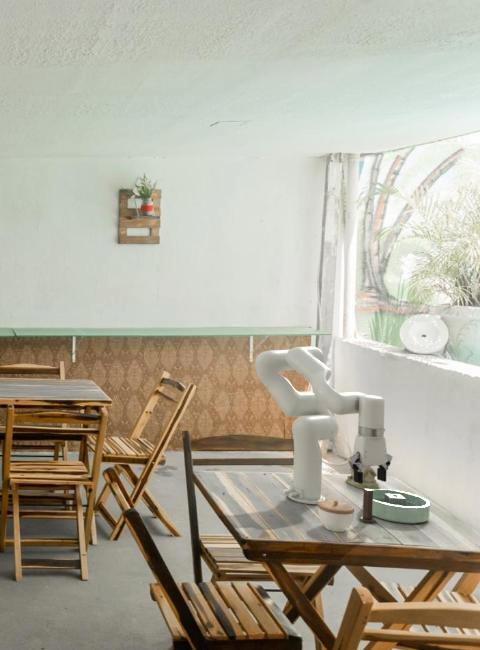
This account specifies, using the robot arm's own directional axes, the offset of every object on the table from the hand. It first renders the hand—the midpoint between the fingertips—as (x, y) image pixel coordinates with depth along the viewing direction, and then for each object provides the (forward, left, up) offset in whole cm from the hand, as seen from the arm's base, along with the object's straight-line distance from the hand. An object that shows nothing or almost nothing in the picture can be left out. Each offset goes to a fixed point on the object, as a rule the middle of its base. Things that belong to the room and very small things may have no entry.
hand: (369, 481), depth 229 cm
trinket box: (-16, -3, -14) cm, 22 cm away
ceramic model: (+32, +34, -14) cm, 49 cm away
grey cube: (+17, +6, -13) cm, 22 cm away
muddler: (0, 0, -14) cm, 14 cm away
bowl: (+15, +3, -14) cm, 21 cm away
